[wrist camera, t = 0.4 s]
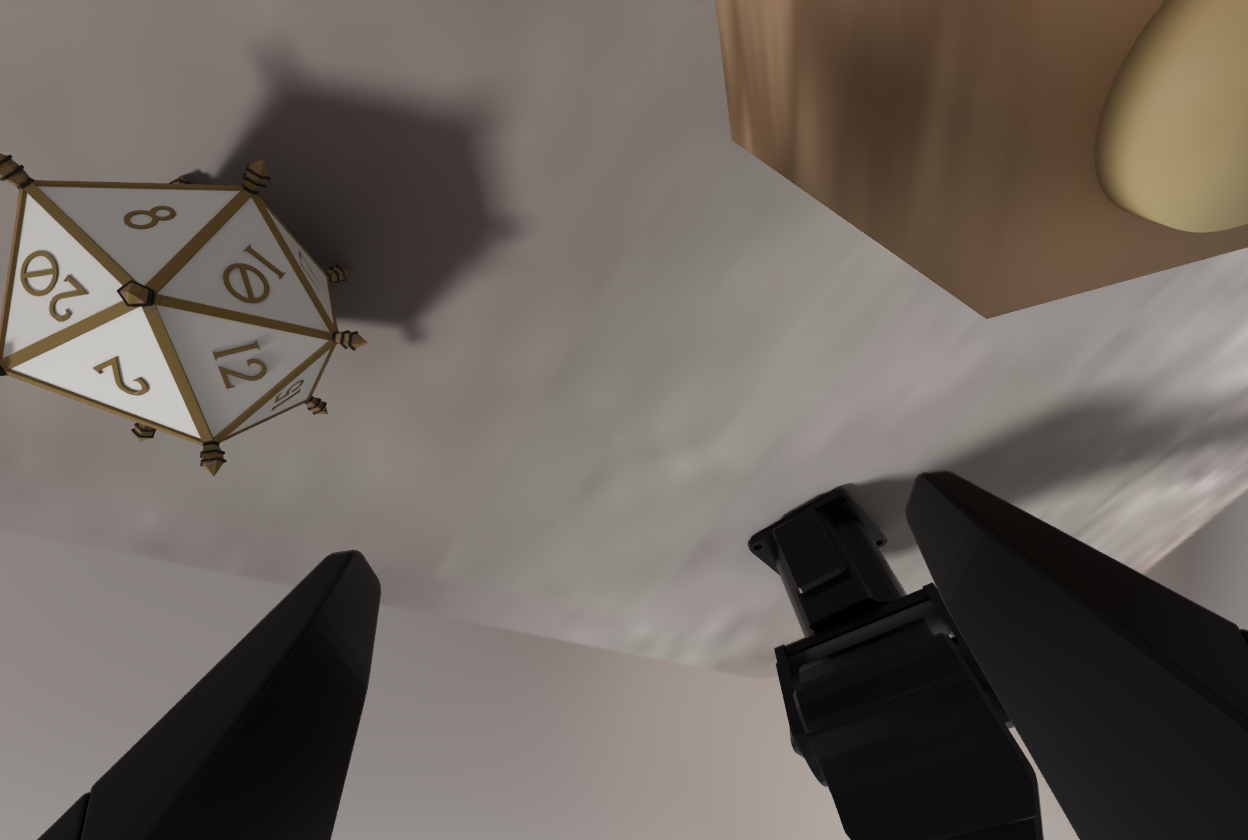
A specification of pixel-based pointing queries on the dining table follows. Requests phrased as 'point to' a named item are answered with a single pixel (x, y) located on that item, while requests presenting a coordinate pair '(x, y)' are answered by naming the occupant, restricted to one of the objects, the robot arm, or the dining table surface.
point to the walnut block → (1005, 131)
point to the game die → (166, 304)
